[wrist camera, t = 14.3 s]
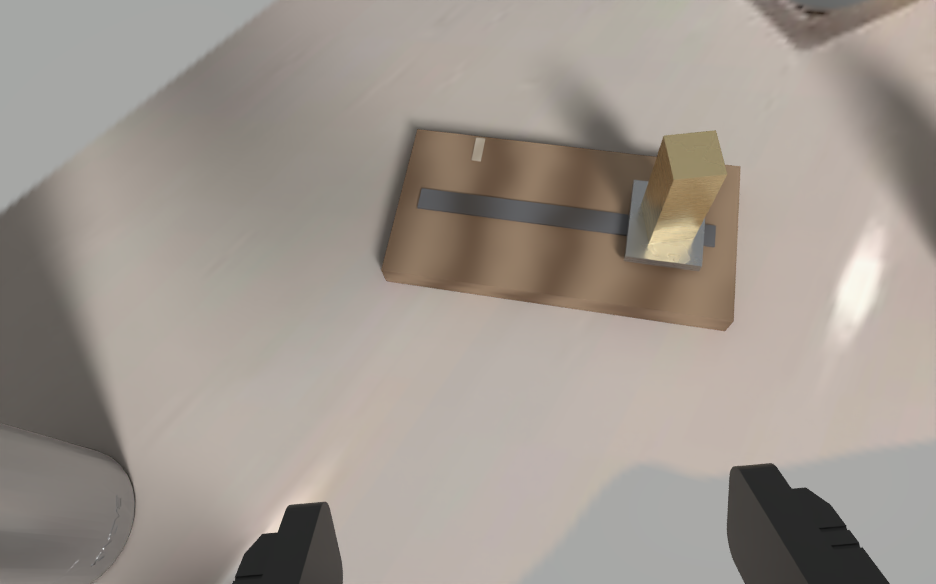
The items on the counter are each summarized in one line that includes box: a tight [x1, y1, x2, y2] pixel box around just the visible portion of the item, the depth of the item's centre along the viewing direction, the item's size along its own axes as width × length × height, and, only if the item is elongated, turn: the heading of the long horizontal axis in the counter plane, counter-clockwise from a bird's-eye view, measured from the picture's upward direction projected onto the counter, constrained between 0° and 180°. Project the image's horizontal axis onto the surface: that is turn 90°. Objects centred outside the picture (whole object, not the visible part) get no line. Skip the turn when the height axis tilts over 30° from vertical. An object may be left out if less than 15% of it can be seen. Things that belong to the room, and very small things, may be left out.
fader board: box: [381, 129, 740, 331], centre depth 49 cm, size 24×12×2 cm, turn 80°
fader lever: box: [624, 130, 727, 271], centre depth 43 cm, size 5×6×9 cm
